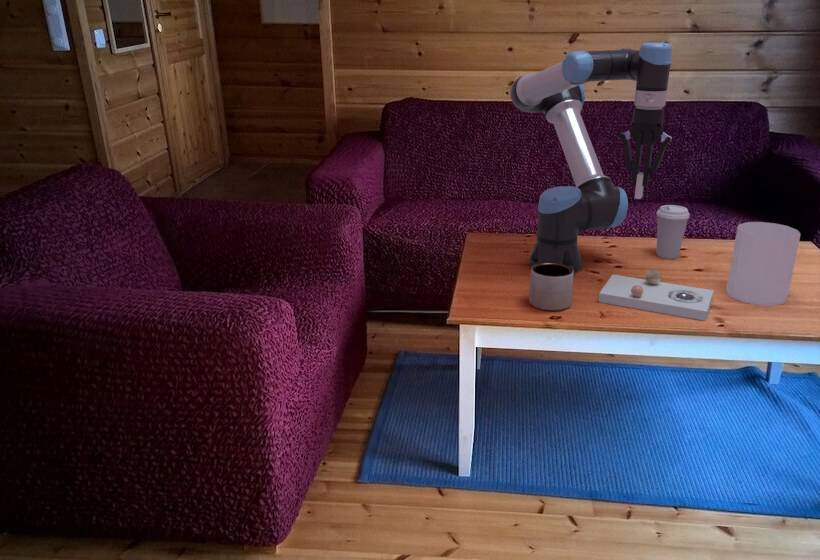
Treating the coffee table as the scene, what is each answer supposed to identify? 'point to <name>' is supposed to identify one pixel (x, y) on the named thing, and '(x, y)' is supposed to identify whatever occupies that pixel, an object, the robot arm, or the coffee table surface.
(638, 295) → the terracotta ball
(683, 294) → the steel ball
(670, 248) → the coffee cup
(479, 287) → the coffee table surface
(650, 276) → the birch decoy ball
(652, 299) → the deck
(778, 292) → the container
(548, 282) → the planter
